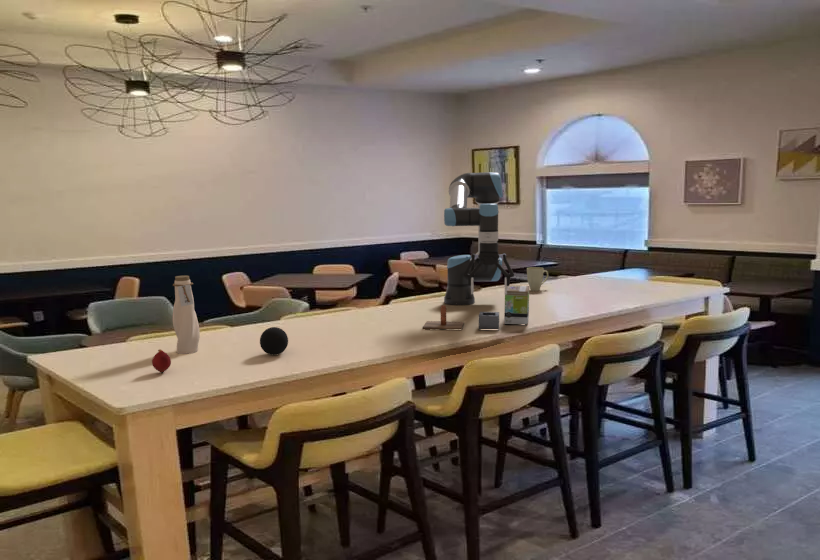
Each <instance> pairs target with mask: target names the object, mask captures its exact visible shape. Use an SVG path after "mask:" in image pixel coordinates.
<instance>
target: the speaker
mask: <svg viewBox="0 0 820 560" xmlns="http://www.w3.org/2000/svg"><path fill="white" fill-rule="evenodd" d="M259 345H260V347H261V349H262V351H263V352H264V353H265V354H267V355H271V356H278V355H280V354H282V353H283V352H285V351H286V349H287V347H288V345H289V337H288V334H287V333H286V331H285V330H283V329H282V328H280V327H278V326H272V327H268V328H267V329H265V330H264V331H263V332H262V333H261V334H260V337H259ZM277 354H278V355H277Z"/></svg>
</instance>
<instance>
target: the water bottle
mask: <svg viewBox="0 0 820 560" xmlns="http://www.w3.org/2000/svg"><path fill="white" fill-rule="evenodd" d="M174 278H175V279H174V283H172V287H174V296H175V299H174V304H173V308H172V325H173V329H174V333H175V335H176V338H177V342H176V353H177V354H193V353H196V352H198V351H199V342H200V334H201V332H200V326H199V321H198V317H197V313H196V311H195V301H194V295H193V290H192V285H194V283H193V282H191V281H192V280H191V279H190V275H176V276H174Z"/></svg>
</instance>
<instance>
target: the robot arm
mask: <svg viewBox="0 0 820 560" xmlns="http://www.w3.org/2000/svg"><path fill="white" fill-rule="evenodd" d="M503 193H504V192H503V185H502V179H501V174H500V173H499V172H492V171H488V172H487V171H486V172H485V171H483V172H467V173H462V174H460V175H458V176H456V177H455V178H454V179H453V180H452V181H451V182H450V184H449V186H448V195H449V196H450V198H449V199H450V200H449V207H448V208H447V207H446V208H445V209H444V210H443V213H444V214H443V217H444V218H443V222H444V225H445V226H447V227H469V226H470V227H478V239H477V240H478V251H477V252H476V253H472V254H471V255H470V254H461V255H460V254H459V255H455V256H452V257H449V258H448V259H447V264H446V265H447V266H446V269H447V289H446V291H445V295H444V298H443V299H444V300H443V302H444V303H445V304H447V305H452V306H453V305H454V306H465V305H471V304H472V305H473V304H474V303H475V302H476V300H475V299H476V298H475V295H474V282H498V281H499V280H500V279H501V274H503V275H504V276H505V277H504V296H505V295H507V286H511V285H510V283H511V281H510V280H511V278H513V277H514V276H515V273H514V271H513V269H512V267H511V265H510V263H509V262H508V259H507V254H506V253H502V254H499V242H498V241H499V213H500V212H499V203H500V202H501V198H503V197H504V195H503ZM473 198H474V201H475V203H476V204H477V205H478V206H477V207H468V199H473ZM503 263H504V264H505V267H506V269H507V270H508V272H507V270H506V269H505V268H504V267H503Z"/></svg>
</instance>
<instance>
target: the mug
mask: <svg viewBox="0 0 820 560" xmlns="http://www.w3.org/2000/svg"><path fill="white" fill-rule="evenodd" d="M544 273H545V274H546V277H545V278H544ZM526 276H527V279H526V280H527V283H528V285H529V291H532V292H539V291H540V290H541V287H542V286H543V285H544V283H546V281H547V280H548V278H549V271H548V270H545V269H544V267H538V266H537V267H536V266H535V267H534V266H532V267H527V268H526ZM543 278H544V279H543Z"/></svg>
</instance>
